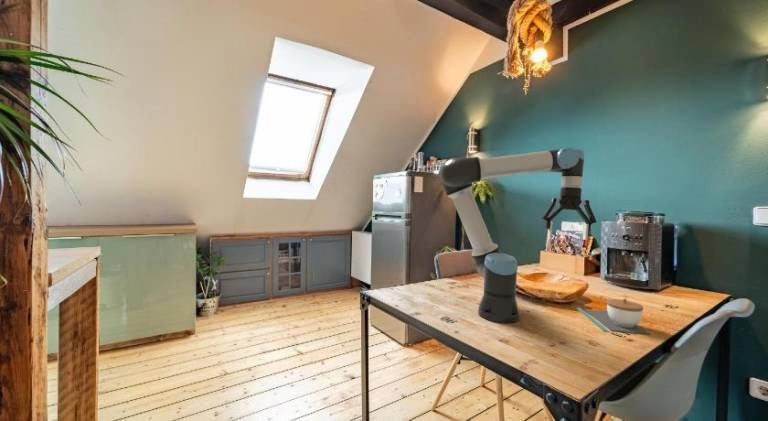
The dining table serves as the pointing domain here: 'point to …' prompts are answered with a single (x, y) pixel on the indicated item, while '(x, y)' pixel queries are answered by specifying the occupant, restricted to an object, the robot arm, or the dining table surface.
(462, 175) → the robot arm
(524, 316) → the dining table surface
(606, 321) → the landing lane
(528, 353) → the dining table surface
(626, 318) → the lidded jar
